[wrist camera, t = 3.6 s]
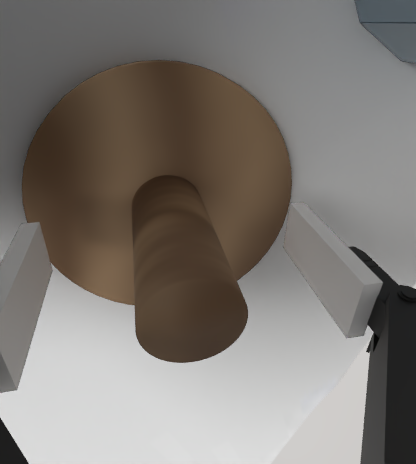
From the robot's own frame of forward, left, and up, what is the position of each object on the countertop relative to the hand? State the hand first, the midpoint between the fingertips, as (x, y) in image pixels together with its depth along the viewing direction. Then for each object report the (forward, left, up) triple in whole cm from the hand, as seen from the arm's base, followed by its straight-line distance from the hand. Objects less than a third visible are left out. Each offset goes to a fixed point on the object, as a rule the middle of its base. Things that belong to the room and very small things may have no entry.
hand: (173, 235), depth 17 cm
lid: (0, 0, -4) cm, 4 cm away
